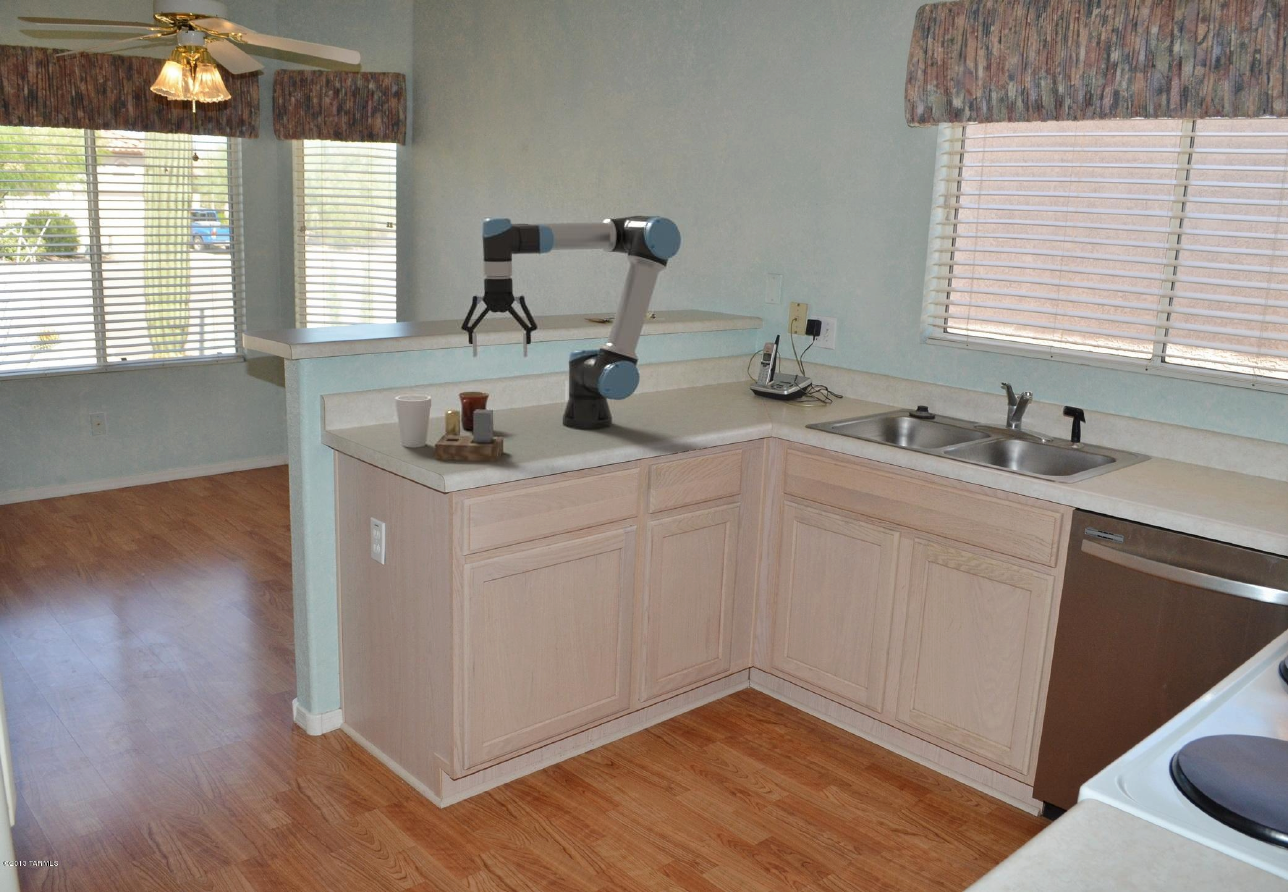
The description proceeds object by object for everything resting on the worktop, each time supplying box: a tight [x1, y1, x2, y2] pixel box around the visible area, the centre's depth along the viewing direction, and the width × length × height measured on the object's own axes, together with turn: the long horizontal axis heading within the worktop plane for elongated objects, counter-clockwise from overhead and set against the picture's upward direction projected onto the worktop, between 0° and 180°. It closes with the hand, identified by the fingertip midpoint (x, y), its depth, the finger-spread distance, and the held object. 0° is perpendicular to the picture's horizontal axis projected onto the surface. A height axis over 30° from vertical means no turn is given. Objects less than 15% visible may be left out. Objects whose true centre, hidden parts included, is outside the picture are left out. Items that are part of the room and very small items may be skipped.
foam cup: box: [394, 394, 432, 448], centre depth 281 cm, size 10×9×13 cm
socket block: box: [434, 434, 504, 462], centre depth 272 cm, size 16×11×4 cm
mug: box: [458, 391, 490, 431], centre depth 302 cm, size 12×9×10 cm
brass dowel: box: [444, 409, 461, 436], centre depth 284 cm, size 4×4×9 cm
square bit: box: [472, 409, 494, 444], centre depth 271 cm, size 4×4×12 cm
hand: (500, 356), depth 281 cm, fingers open, 13 cm apart
